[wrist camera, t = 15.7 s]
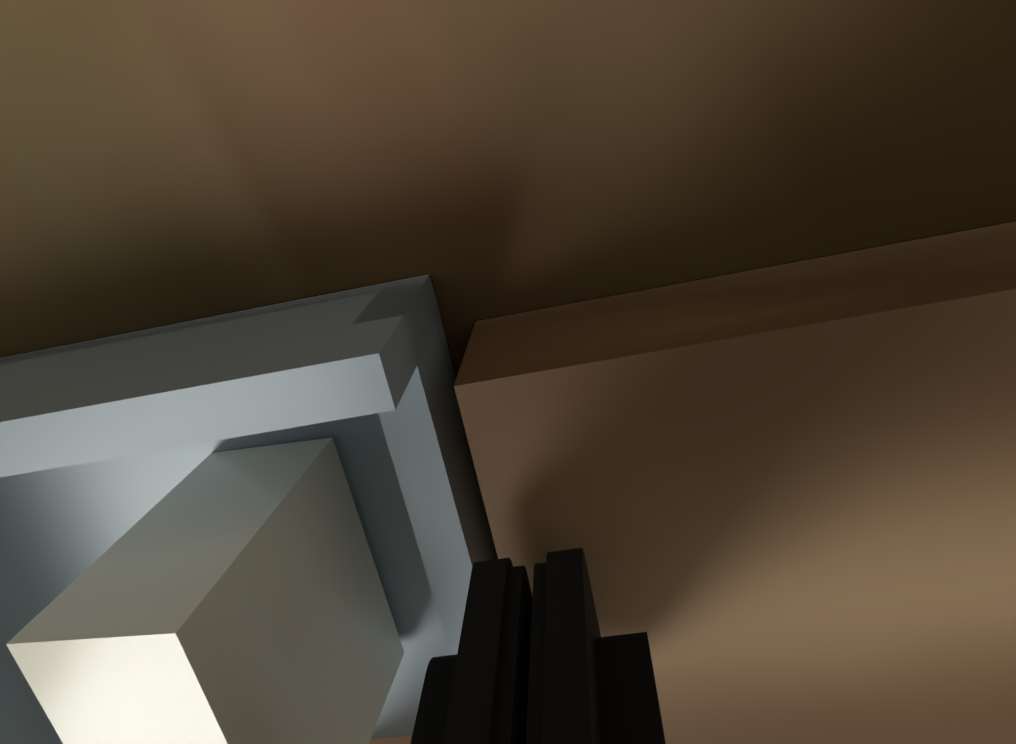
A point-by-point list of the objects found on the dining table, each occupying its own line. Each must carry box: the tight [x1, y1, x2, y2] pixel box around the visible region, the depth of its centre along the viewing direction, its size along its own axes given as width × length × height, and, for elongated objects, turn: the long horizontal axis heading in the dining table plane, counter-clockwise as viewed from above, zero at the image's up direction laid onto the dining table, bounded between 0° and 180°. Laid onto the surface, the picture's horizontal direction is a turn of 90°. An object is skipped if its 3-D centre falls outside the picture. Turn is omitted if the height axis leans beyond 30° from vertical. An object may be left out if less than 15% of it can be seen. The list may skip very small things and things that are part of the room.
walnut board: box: [454, 221, 1016, 744], centre depth 14 cm, size 16×14×3 cm
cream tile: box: [6, 438, 404, 744], centre depth 12 cm, size 5×5×2 cm
